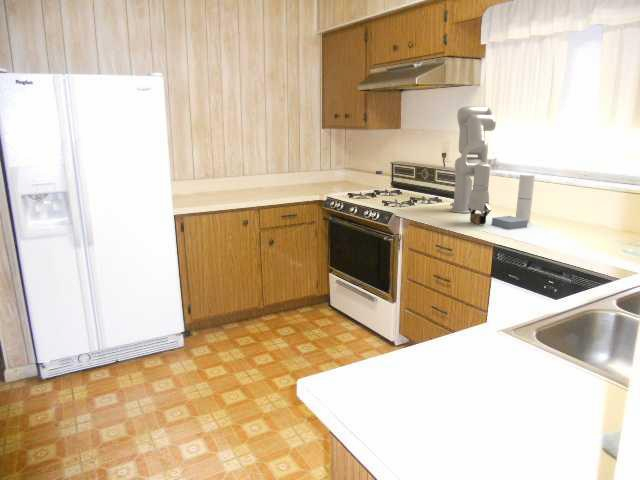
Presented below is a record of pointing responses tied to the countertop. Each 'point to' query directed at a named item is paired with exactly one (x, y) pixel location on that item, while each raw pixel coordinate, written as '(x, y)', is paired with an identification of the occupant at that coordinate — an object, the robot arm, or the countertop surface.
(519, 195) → the cylindrical container
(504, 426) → the countertop surface
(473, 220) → the walnut cube
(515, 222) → the grey base block
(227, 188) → the countertop surface
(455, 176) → the robot arm
